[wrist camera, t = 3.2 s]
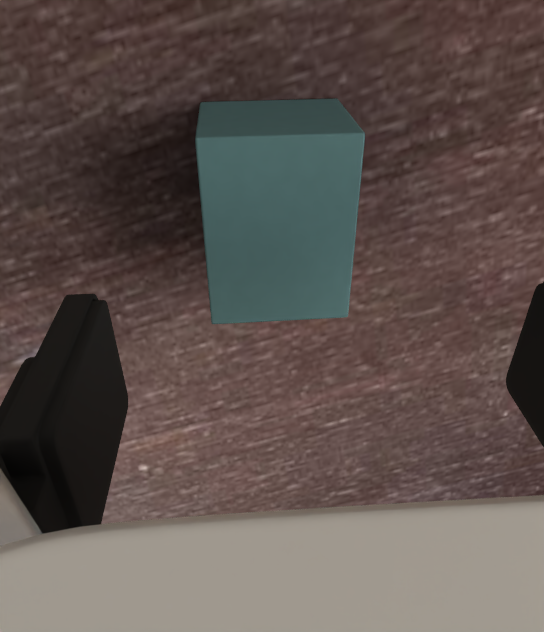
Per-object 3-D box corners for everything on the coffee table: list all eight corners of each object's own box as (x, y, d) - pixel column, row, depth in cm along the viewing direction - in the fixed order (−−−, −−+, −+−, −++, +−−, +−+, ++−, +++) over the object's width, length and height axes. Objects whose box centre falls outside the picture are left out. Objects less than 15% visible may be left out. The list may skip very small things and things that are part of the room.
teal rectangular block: (199, 101, 17) (194, 138, 13) (337, 98, 17) (365, 132, 14) (213, 264, 20) (211, 325, 17) (327, 259, 20) (348, 318, 17)
